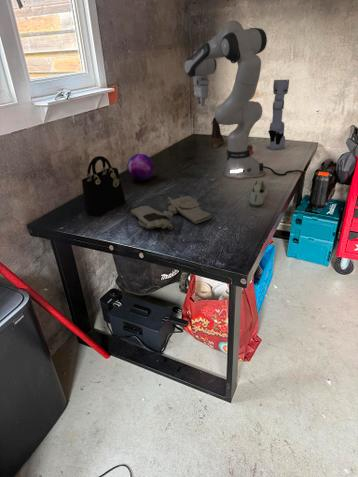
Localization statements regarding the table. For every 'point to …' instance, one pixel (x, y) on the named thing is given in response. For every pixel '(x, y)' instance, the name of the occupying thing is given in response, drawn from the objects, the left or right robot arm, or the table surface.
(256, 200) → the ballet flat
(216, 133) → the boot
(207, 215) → the pair of gloves
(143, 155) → the decorative orb
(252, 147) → the brick
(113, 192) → the handbag
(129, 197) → the table surface
